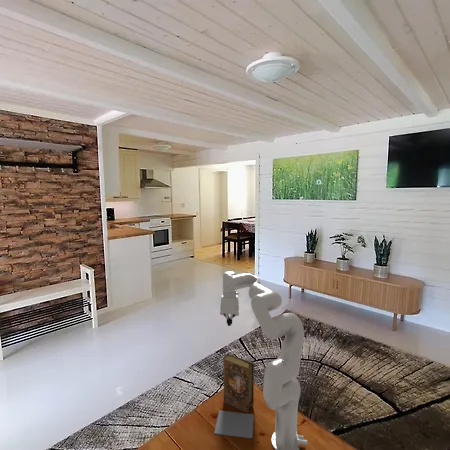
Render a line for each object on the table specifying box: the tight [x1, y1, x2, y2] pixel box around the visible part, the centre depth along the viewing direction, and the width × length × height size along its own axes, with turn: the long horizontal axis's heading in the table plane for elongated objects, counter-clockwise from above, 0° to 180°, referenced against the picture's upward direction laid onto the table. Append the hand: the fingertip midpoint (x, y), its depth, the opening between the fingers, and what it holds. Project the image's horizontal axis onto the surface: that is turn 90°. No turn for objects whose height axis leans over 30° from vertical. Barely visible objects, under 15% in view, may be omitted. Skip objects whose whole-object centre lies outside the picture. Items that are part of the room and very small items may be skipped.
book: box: [223, 353, 255, 414], centre depth 150 cm, size 16×6×25 cm, turn 58°
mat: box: [213, 409, 255, 439], centre depth 138 cm, size 18×14×1 cm
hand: (229, 324), depth 158 cm, fingers closed
